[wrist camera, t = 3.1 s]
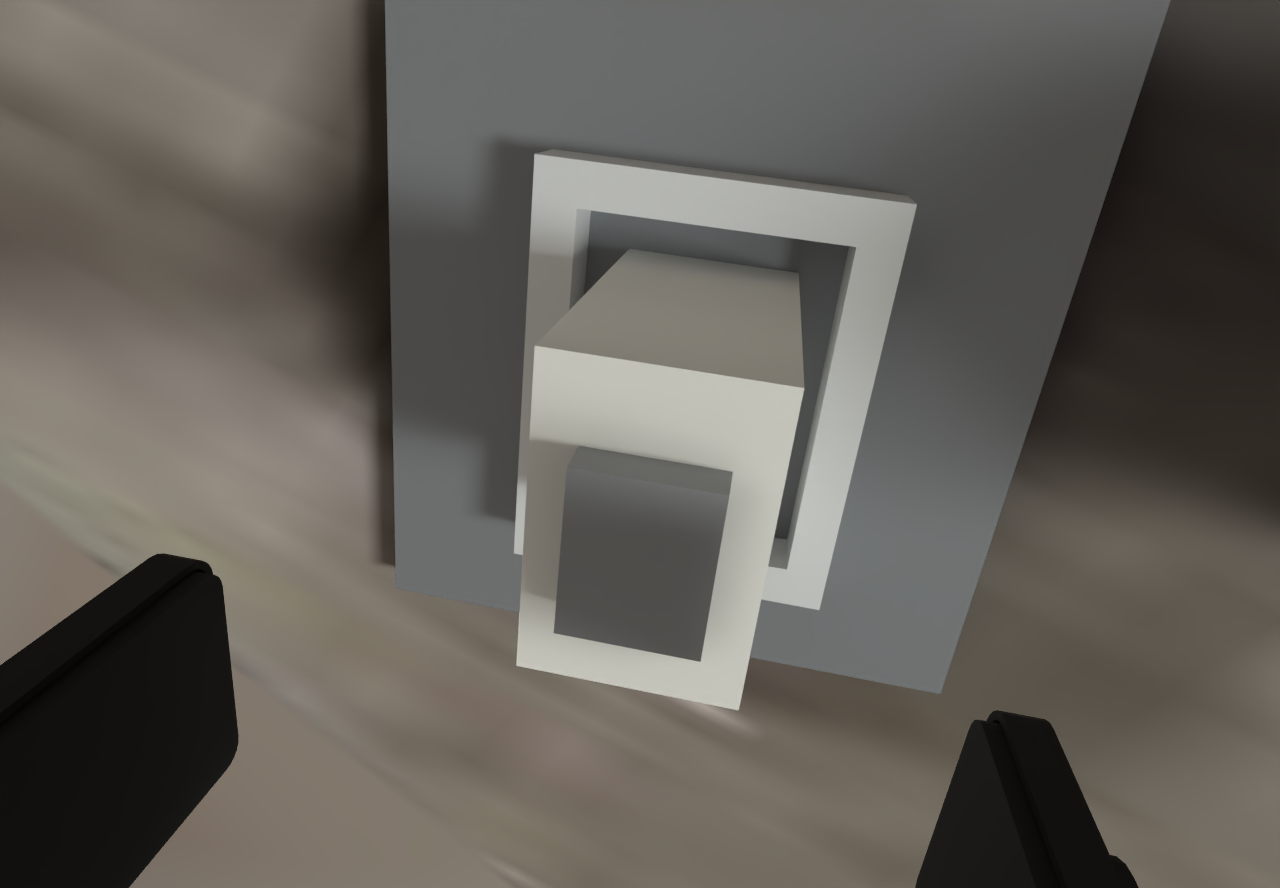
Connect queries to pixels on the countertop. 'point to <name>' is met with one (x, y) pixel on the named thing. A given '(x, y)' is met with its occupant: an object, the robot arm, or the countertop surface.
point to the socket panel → (756, 263)
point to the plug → (659, 474)
